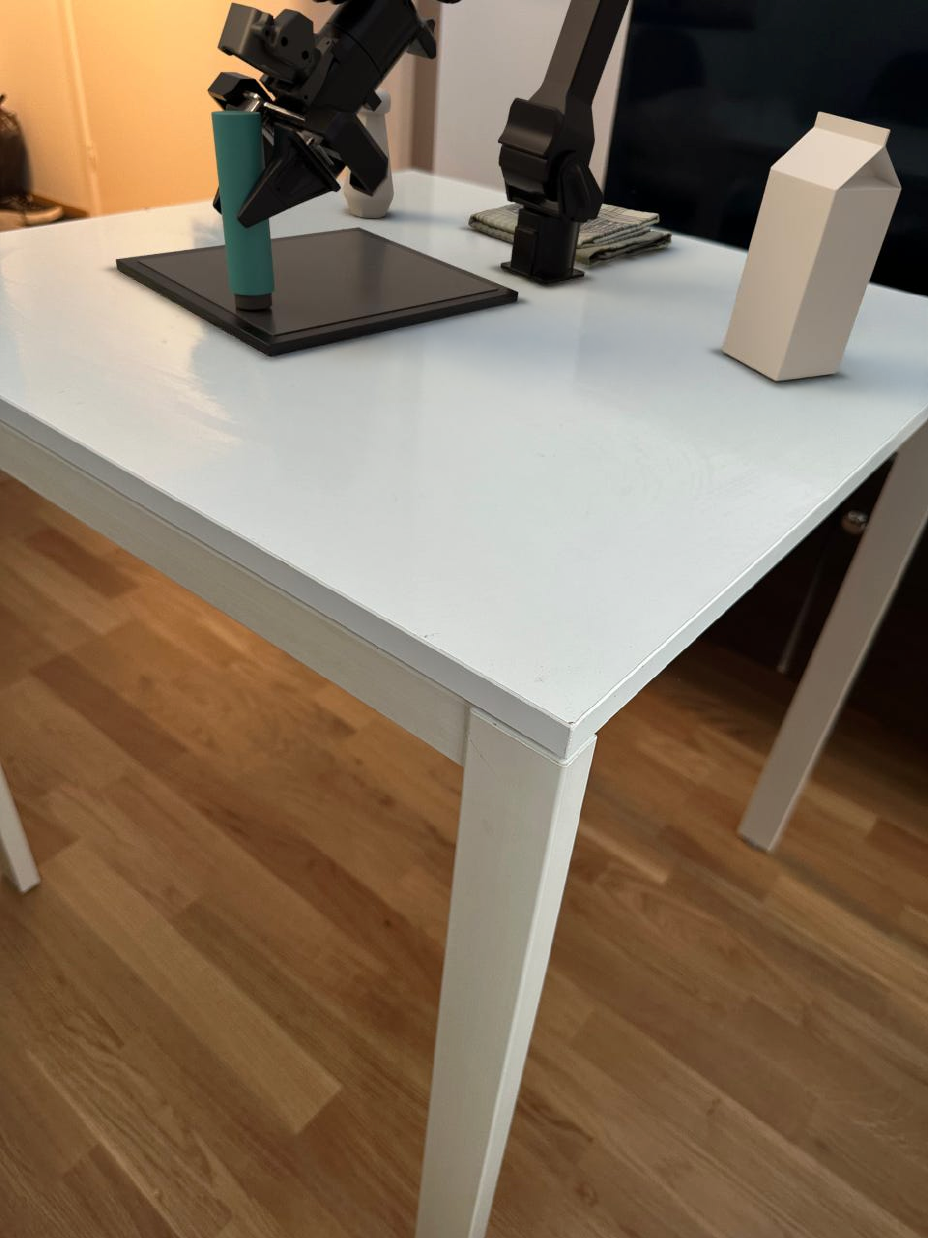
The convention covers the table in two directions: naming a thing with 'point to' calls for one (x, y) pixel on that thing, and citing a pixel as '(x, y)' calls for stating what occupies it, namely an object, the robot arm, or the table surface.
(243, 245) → the marker
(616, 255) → the dish towel
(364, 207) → the salt shaker
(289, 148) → the robot arm
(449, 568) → the table surface
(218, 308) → the tablet
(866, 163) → the milk carton
